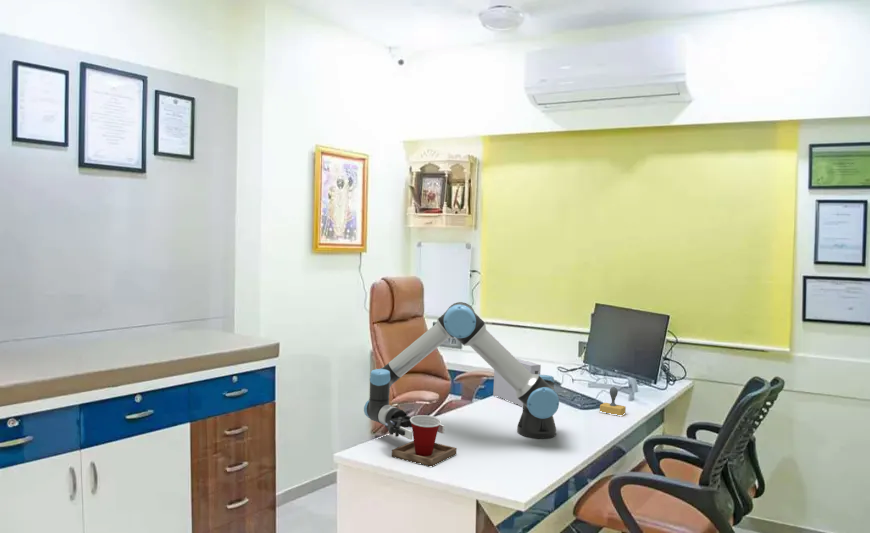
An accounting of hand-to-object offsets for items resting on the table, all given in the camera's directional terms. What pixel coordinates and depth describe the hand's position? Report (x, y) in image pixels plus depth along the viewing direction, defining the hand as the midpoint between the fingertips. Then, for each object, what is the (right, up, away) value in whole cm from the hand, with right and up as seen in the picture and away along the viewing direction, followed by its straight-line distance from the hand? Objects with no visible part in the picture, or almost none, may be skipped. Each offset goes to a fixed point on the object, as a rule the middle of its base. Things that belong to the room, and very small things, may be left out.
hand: (427, 432), depth 225 cm
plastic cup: (-1, -8, +2) cm, 8 cm away
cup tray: (-1, -8, +2) cm, 9 cm away
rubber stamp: (+82, -9, +70) cm, 108 cm away
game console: (+40, -7, +83) cm, 93 cm away
